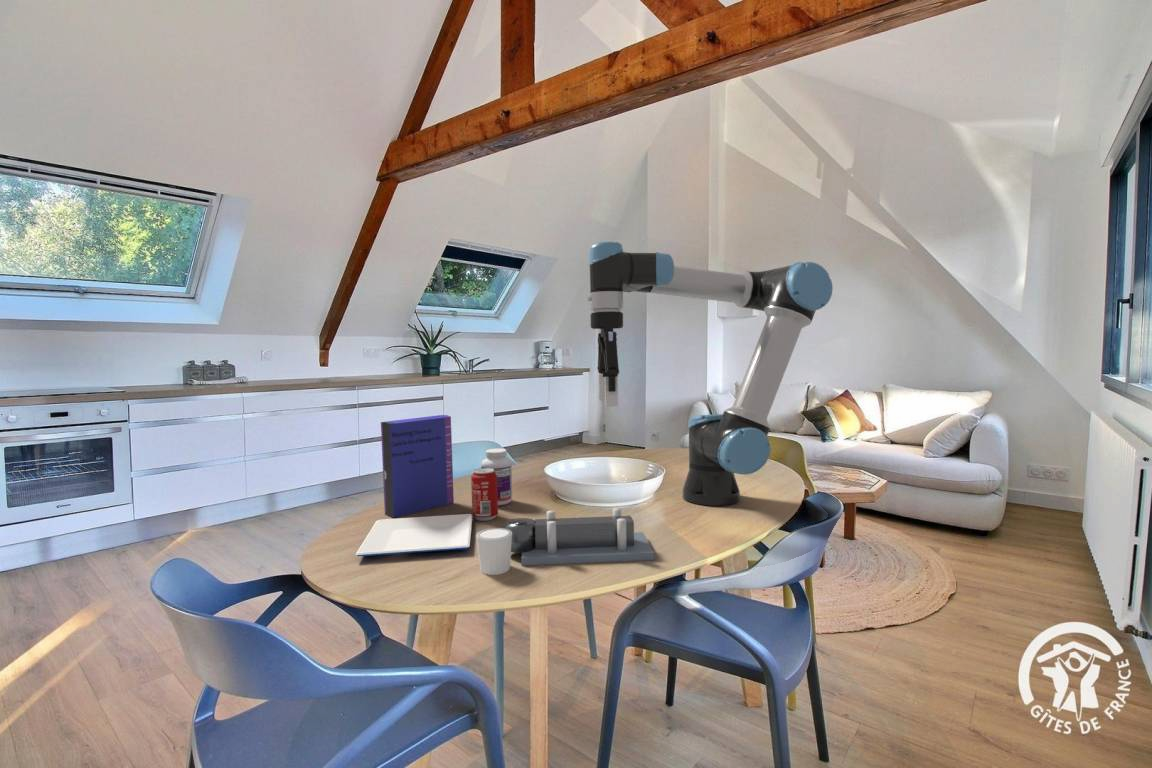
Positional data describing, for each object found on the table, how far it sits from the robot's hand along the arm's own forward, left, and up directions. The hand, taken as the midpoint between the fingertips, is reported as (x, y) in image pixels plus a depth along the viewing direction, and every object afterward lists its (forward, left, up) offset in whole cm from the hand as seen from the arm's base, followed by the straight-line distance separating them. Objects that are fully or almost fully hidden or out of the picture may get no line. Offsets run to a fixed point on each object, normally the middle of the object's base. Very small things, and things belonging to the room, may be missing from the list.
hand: (607, 403), depth 131 cm
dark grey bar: (+10, +17, -27) cm, 34 cm away
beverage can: (+30, -8, -29) cm, 42 cm away
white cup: (+25, +24, -29) cm, 45 cm away
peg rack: (+7, +17, -29) cm, 34 cm away
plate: (+43, +6, -29) cm, 52 cm away
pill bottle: (+28, -21, -29) cm, 45 cm away
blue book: (+48, -18, -29) cm, 59 cm away
